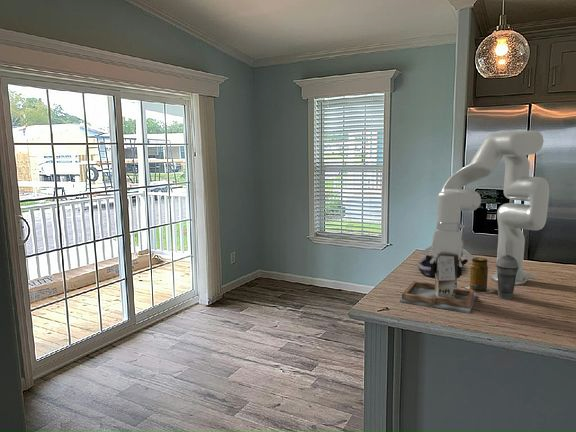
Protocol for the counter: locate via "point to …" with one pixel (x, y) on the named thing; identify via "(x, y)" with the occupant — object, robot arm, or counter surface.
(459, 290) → the wooden tray
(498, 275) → the beverage cup
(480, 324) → the counter surface
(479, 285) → the condiment
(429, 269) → the dish
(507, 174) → the robot arm
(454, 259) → the coffee box
